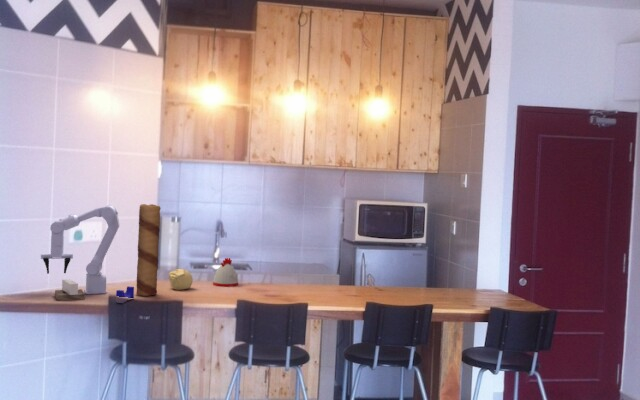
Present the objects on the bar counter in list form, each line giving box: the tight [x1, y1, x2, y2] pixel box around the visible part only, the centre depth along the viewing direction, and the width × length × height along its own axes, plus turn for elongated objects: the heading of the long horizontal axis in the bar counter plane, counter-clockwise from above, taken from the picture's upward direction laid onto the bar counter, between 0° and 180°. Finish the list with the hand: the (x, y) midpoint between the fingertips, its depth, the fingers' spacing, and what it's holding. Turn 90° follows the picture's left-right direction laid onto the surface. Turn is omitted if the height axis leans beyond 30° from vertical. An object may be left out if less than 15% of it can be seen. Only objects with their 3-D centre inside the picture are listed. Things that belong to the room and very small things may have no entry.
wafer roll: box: [136, 203, 162, 297], centre depth 321 cm, size 10×11×45 cm
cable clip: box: [115, 286, 135, 298], centre depth 304 cm, size 12×4×6 cm, turn 171°
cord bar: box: [61, 278, 79, 295], centre depth 307 cm, size 4×14×5 cm, turn 36°
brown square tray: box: [54, 288, 86, 302], centre depth 307 cm, size 12×13×2 cm
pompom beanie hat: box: [212, 257, 239, 288], centre depth 360 cm, size 14×14×15 cm
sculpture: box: [168, 268, 194, 291], centre depth 341 cm, size 12×12×11 cm
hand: (56, 273), depth 318 cm, fingers open, 7 cm apart
